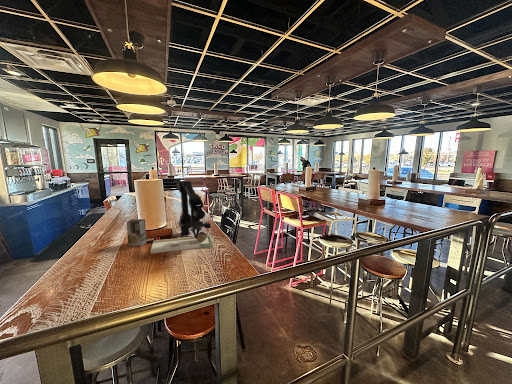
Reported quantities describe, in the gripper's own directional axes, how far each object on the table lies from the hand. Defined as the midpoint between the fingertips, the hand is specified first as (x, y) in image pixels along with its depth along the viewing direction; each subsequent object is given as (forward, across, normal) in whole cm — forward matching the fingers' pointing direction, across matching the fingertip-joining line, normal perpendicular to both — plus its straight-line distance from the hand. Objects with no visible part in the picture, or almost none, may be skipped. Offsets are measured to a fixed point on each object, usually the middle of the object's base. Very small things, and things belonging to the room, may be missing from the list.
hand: (196, 238), depth 139 cm
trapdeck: (+3, -8, -2) cm, 9 cm away
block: (0, +3, -3) cm, 4 cm away
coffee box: (+4, -37, +11) cm, 39 cm away
